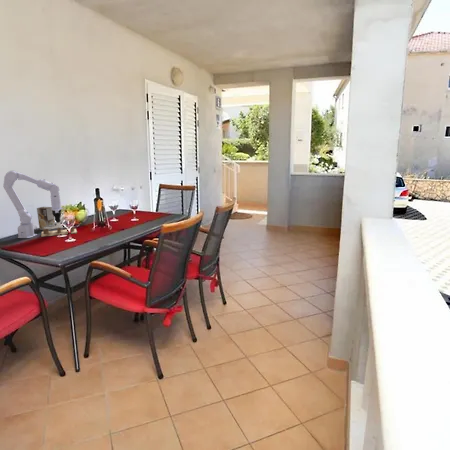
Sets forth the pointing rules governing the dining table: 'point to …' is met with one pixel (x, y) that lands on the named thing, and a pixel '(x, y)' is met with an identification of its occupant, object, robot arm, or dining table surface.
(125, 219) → the dining table surface
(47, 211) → the coffee box
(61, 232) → the display stand
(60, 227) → the glasses frame
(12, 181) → the robot arm
